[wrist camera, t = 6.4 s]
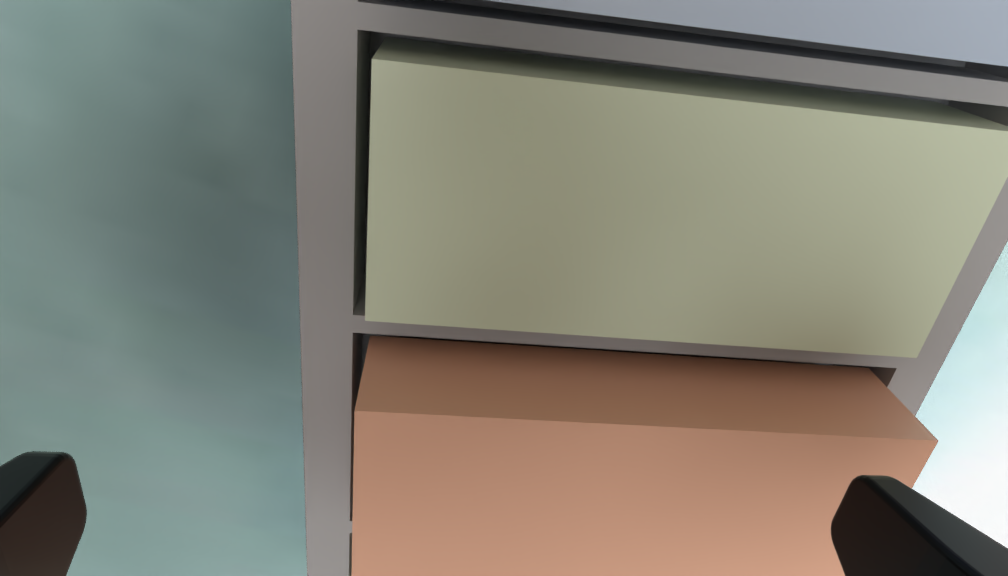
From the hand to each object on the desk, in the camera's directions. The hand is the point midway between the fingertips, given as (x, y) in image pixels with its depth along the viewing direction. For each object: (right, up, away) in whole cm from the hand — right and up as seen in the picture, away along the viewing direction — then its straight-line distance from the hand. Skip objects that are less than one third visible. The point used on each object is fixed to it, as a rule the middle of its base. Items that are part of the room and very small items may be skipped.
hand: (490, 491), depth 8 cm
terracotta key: (+3, -1, +7) cm, 8 cm away
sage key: (+3, +4, +6) cm, 8 cm away
